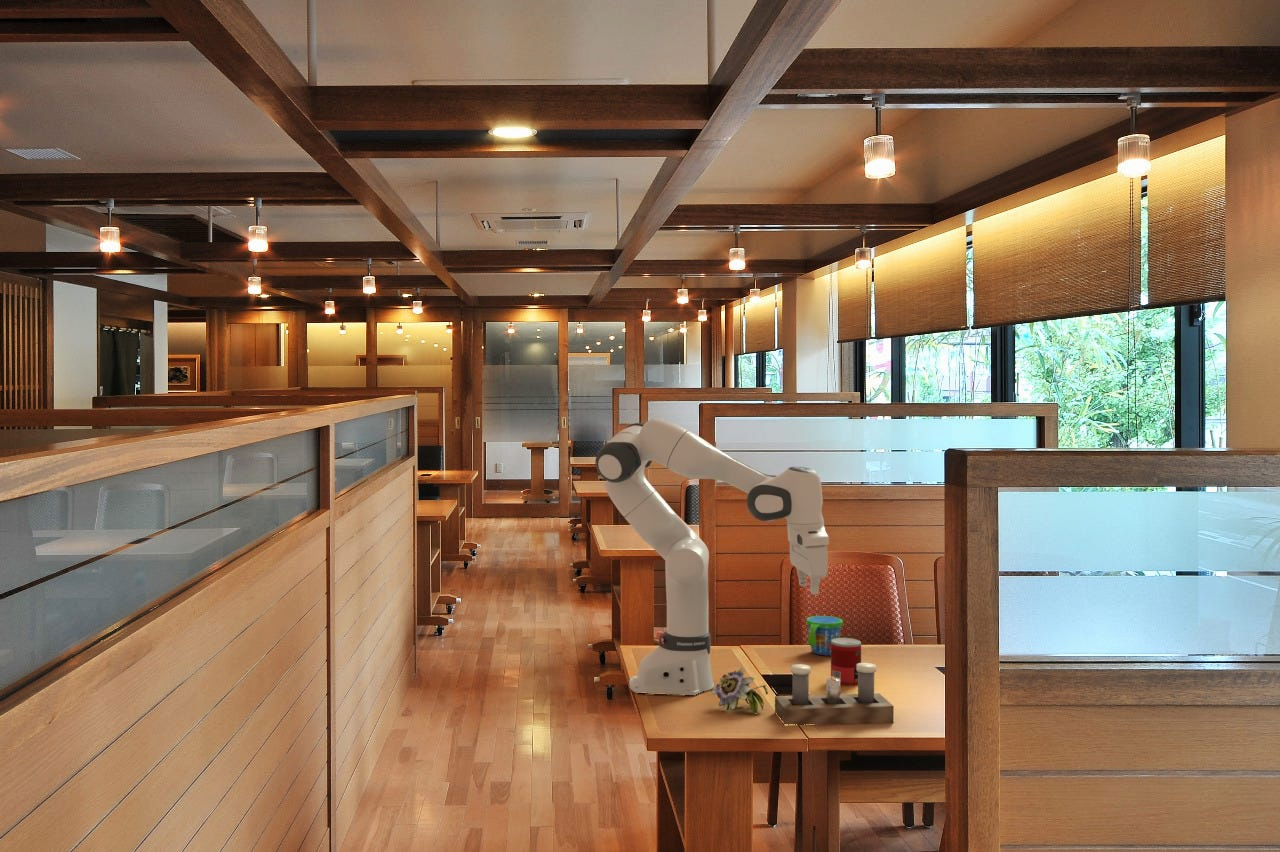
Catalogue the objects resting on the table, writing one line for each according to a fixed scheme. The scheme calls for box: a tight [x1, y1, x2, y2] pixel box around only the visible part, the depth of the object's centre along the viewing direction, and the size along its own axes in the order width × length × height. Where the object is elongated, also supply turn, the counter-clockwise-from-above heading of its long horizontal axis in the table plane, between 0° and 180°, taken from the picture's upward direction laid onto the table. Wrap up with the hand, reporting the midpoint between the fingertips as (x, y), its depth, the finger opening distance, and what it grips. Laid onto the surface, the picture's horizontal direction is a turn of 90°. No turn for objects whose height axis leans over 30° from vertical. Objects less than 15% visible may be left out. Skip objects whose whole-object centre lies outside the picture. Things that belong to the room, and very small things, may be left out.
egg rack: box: [774, 692, 895, 726], centre depth 236 cm, size 26×10×4 cm, turn 95°
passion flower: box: [710, 666, 769, 714], centre depth 243 cm, size 11×11×12 cm
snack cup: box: [805, 615, 844, 656], centre depth 296 cm, size 16×10×10 cm
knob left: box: [790, 663, 811, 706], centre depth 235 cm, size 5×5×9 cm
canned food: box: [830, 637, 862, 686], centre depth 266 cm, size 8×8×11 cm
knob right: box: [856, 662, 877, 704], centre depth 237 cm, size 5×5×9 cm
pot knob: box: [826, 675, 841, 705], centre depth 236 cm, size 3×3×6 cm
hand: (808, 589), depth 241 cm, fingers open, 8 cm apart
